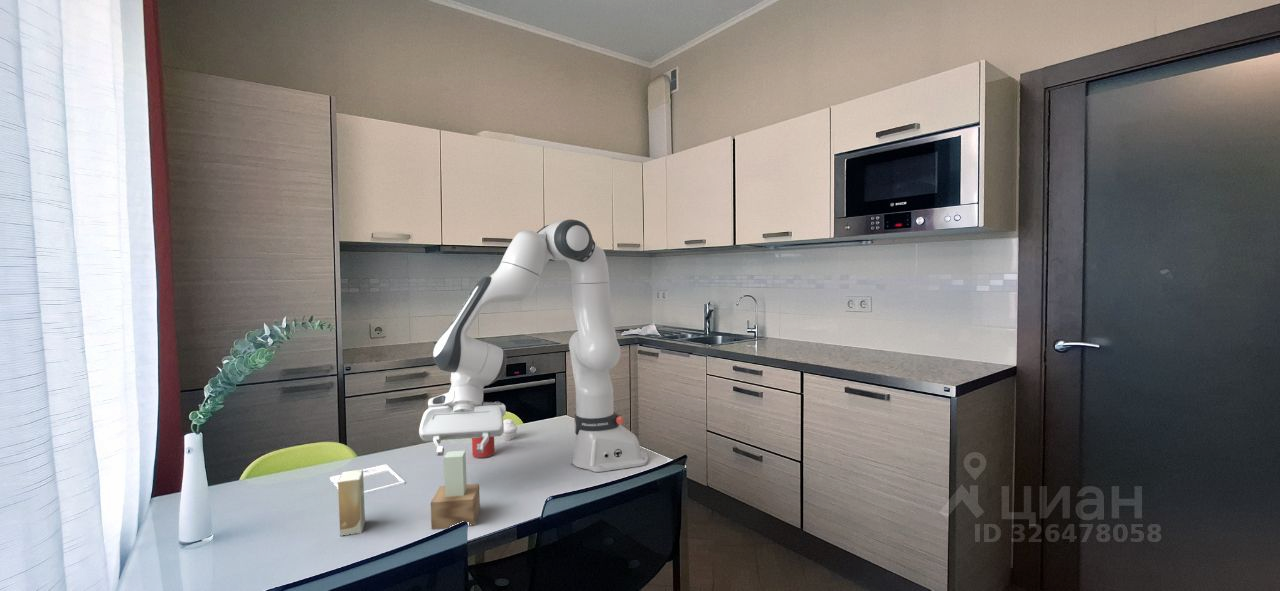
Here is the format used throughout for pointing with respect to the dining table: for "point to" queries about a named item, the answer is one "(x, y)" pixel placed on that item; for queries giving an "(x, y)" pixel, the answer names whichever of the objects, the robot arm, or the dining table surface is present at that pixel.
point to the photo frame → (372, 472)
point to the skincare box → (351, 502)
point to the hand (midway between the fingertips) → (459, 453)
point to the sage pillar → (455, 473)
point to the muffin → (509, 429)
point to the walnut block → (455, 507)
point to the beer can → (488, 448)
